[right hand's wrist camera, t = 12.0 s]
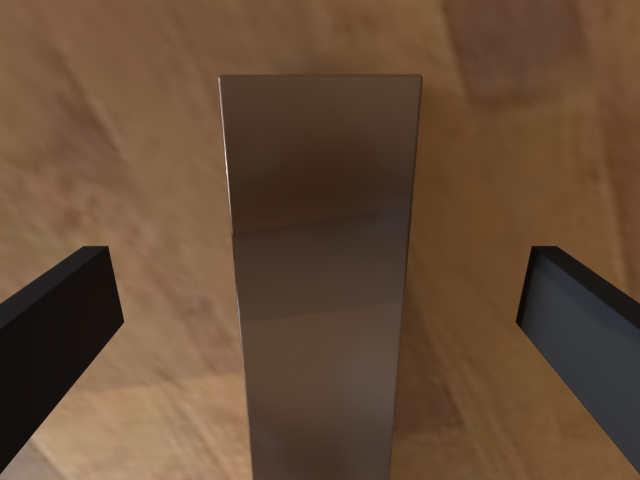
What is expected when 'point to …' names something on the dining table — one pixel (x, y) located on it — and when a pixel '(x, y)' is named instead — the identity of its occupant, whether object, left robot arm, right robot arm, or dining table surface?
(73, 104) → the dining table surface
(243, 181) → the bar
